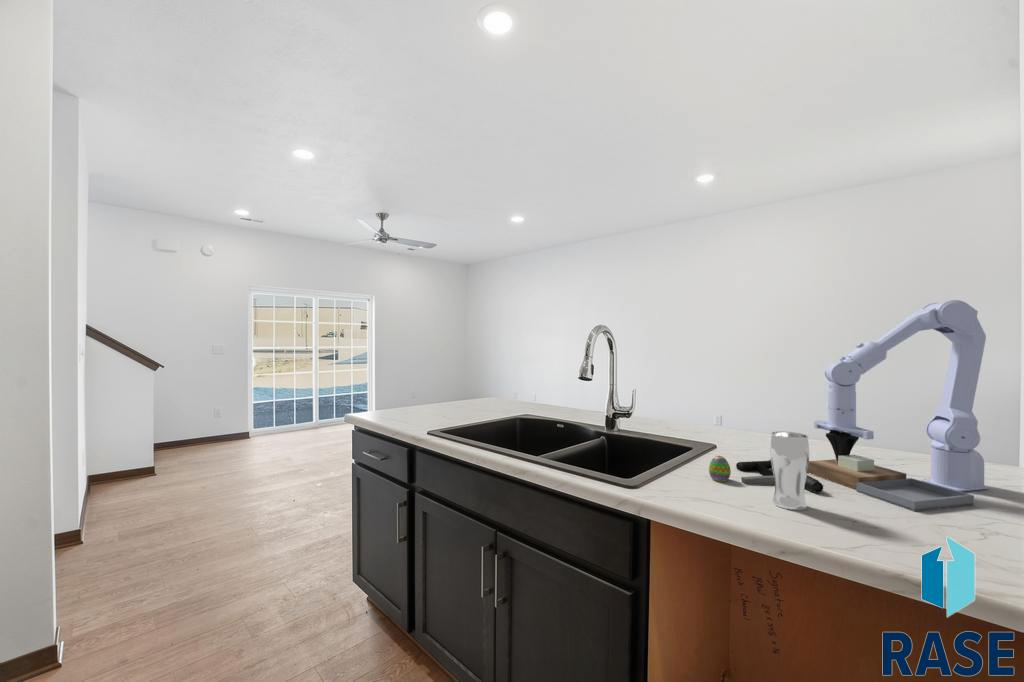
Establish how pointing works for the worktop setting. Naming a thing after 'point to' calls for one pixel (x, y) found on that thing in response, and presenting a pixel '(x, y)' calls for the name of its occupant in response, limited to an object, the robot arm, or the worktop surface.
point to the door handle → (771, 475)
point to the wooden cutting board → (851, 473)
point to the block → (856, 462)
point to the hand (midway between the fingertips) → (842, 461)
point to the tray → (915, 494)
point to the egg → (719, 469)
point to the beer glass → (789, 468)
